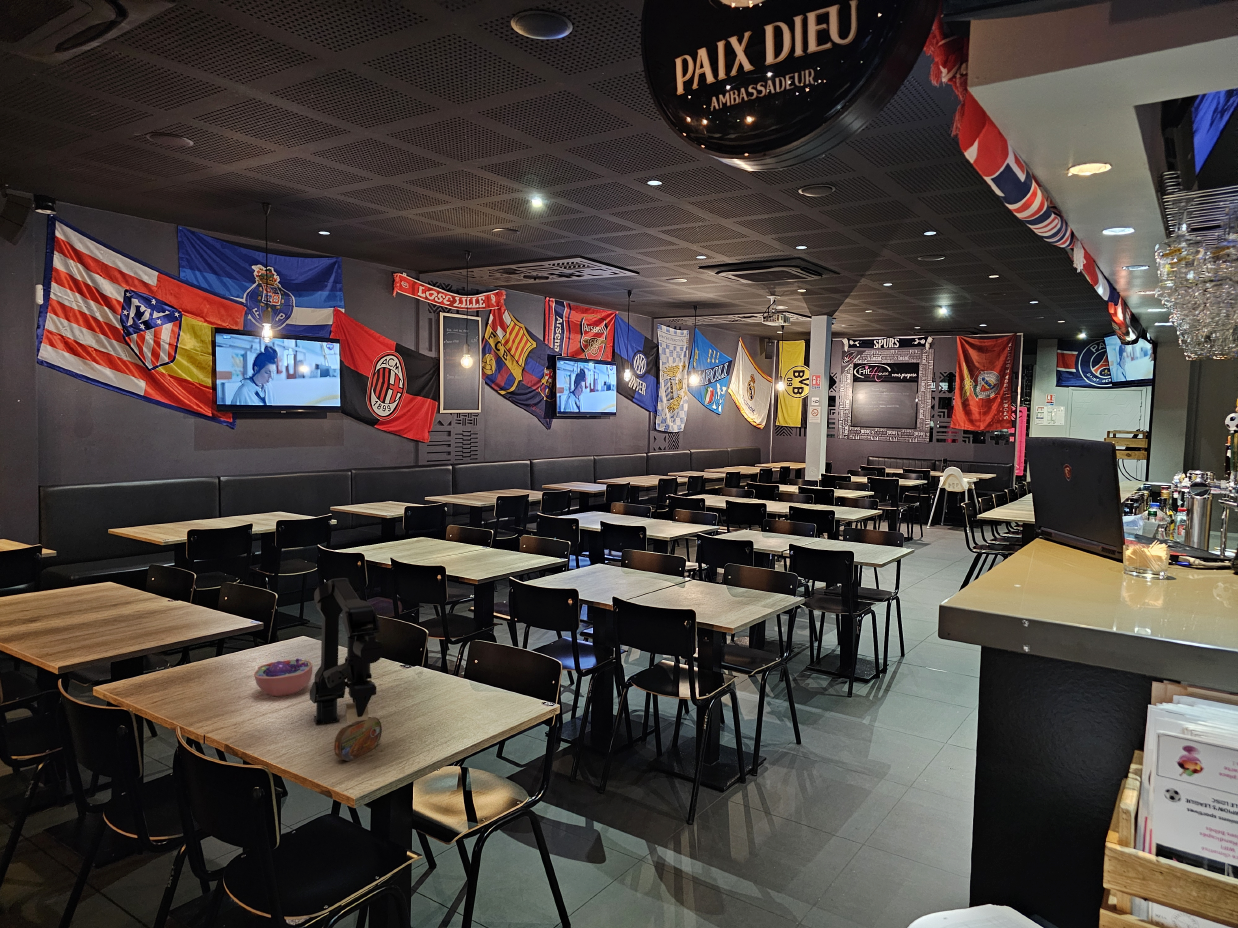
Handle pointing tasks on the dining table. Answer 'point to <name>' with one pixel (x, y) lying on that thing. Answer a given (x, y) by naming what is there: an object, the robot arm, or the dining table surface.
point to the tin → (357, 738)
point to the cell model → (283, 677)
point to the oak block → (354, 713)
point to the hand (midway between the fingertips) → (358, 713)
